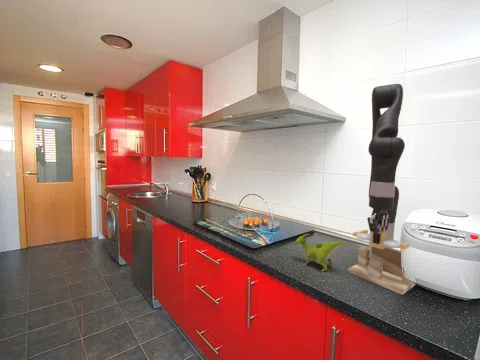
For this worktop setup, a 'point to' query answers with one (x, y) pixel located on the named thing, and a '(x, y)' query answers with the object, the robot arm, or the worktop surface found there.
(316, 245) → the toy
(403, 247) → the glasses
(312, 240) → the worktop surface
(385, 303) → the worktop surface
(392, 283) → the display stand
